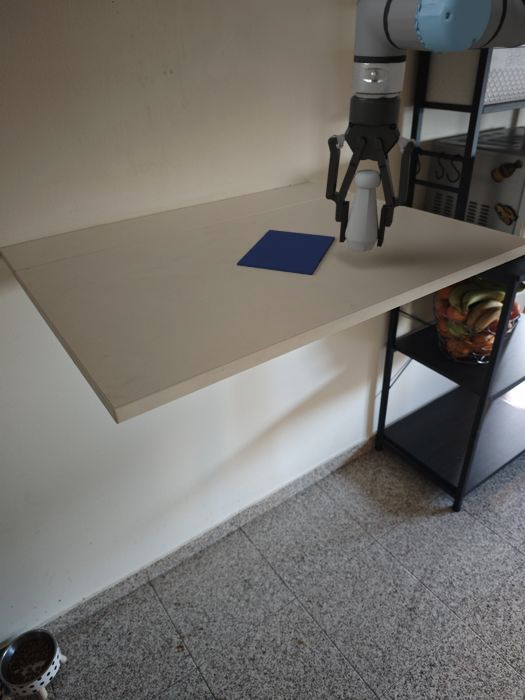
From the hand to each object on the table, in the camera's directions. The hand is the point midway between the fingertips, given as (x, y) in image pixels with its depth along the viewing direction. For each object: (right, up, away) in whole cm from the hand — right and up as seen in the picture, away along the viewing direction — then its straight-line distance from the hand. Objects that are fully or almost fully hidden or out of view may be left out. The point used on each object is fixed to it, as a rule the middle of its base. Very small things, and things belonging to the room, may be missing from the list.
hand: (361, 241), depth 87 cm
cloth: (-12, 0, +8) cm, 15 cm away
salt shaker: (0, -1, 0) cm, 1 cm away
